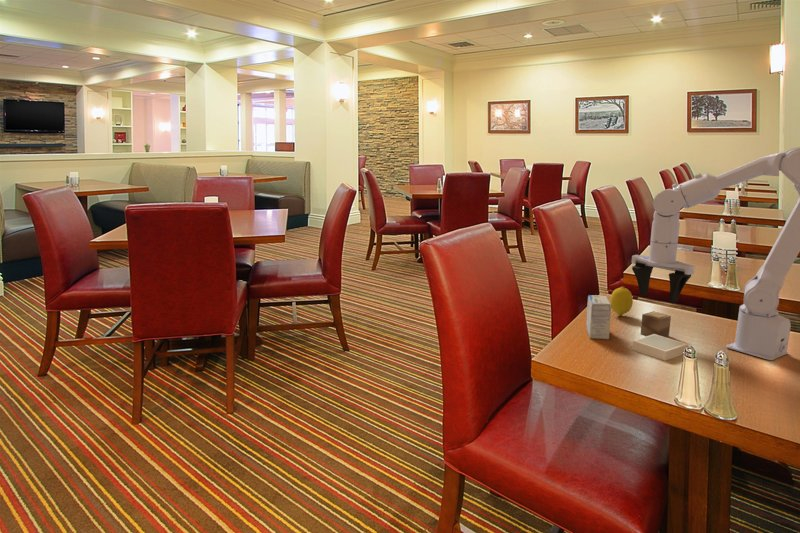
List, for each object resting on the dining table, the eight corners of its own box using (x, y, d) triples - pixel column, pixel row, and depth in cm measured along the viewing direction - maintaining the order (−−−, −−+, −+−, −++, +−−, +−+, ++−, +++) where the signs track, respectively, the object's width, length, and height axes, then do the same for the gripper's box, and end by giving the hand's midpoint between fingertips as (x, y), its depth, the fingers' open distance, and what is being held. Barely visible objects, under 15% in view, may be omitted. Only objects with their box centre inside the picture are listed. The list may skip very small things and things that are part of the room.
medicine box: (609, 340, 133) (612, 304, 131) (589, 338, 134) (591, 303, 132) (604, 329, 140) (606, 295, 138) (585, 328, 141) (587, 294, 139)
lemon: (615, 311, 155) (618, 282, 153) (635, 316, 151) (638, 286, 149) (604, 315, 151) (607, 286, 149) (624, 320, 147) (627, 290, 145)
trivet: (686, 354, 125) (687, 343, 124) (664, 362, 120) (666, 351, 120) (653, 344, 131) (654, 333, 131) (631, 351, 127) (632, 340, 126)
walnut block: (668, 336, 136) (671, 315, 134) (657, 339, 133) (659, 318, 132) (651, 330, 139) (653, 310, 138) (640, 334, 137) (642, 313, 136)
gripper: (625, 238, 135) (620, 294, 138) (684, 248, 123) (677, 308, 126) (643, 236, 139) (638, 289, 142) (702, 245, 127) (695, 303, 130)
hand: (658, 298), depth 134 cm, fingers open, 7 cm apart
